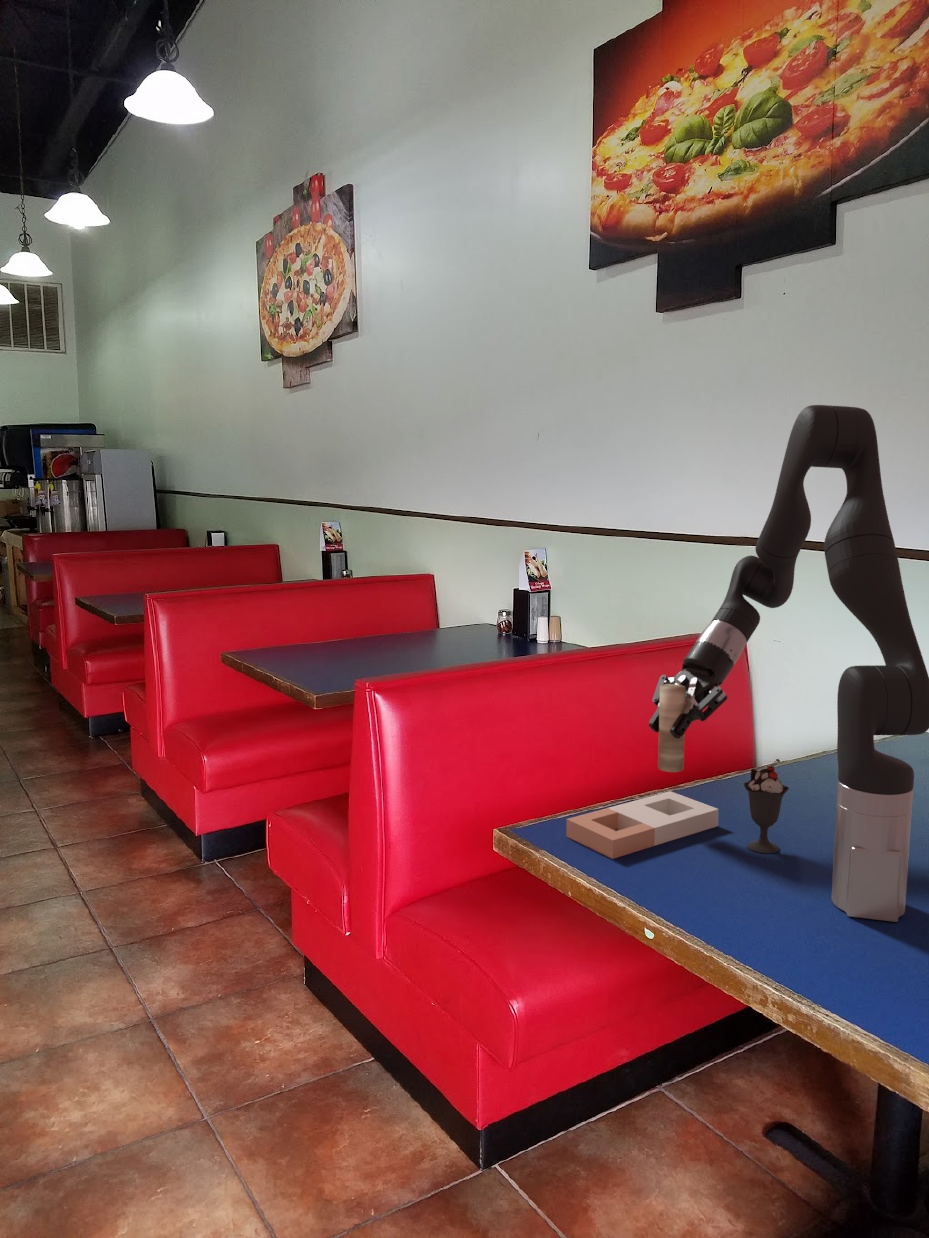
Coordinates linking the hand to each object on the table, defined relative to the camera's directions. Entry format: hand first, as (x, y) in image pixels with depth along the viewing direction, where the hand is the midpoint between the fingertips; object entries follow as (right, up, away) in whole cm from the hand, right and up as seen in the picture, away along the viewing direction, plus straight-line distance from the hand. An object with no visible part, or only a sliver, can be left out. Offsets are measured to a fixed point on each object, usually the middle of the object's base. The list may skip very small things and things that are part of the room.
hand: (663, 731), depth 150 cm
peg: (+2, -6, +2) cm, 7 cm away
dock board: (-3, -17, 0) cm, 17 cm away
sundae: (+14, -18, -7) cm, 24 cm away
